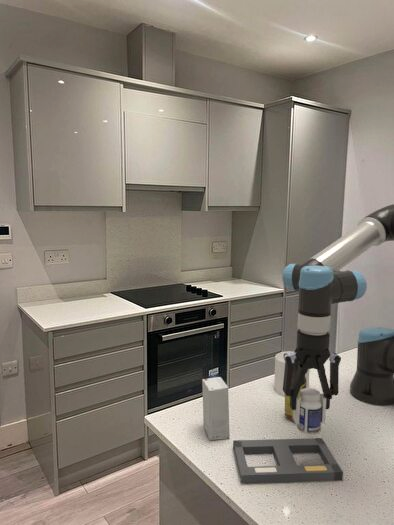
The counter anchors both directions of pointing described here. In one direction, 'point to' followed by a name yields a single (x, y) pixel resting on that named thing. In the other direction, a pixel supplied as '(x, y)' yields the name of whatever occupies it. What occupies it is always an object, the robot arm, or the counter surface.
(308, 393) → the pill bottle
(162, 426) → the counter surface
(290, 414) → the sauce bottle
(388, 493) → the counter surface
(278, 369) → the cup
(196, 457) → the counter surface
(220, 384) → the skincare box
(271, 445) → the socket panel
